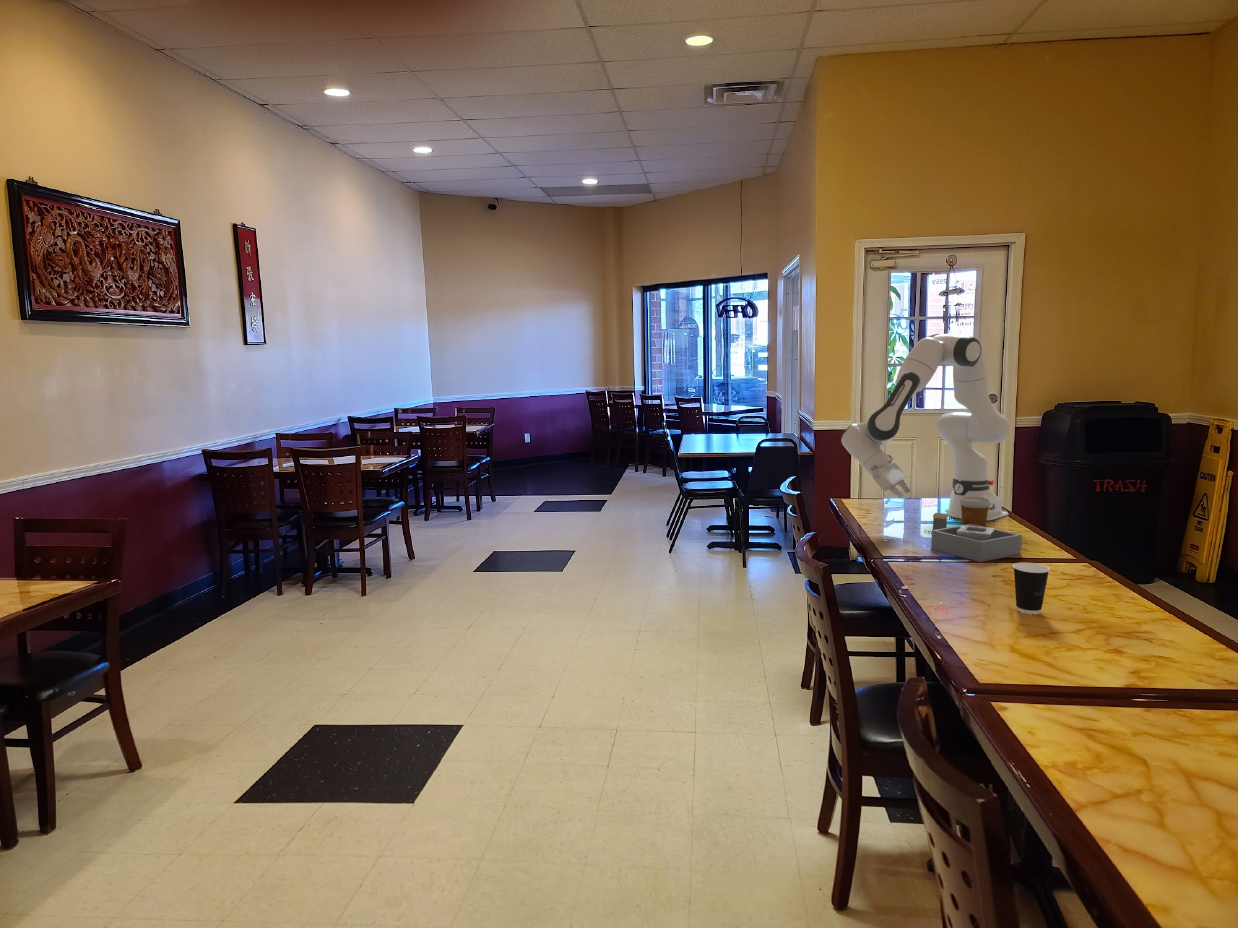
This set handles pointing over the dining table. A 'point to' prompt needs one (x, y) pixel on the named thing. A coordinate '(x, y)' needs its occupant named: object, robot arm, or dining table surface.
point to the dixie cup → (1030, 586)
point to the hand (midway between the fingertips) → (905, 494)
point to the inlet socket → (976, 532)
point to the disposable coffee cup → (974, 510)
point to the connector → (939, 521)
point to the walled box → (976, 544)
